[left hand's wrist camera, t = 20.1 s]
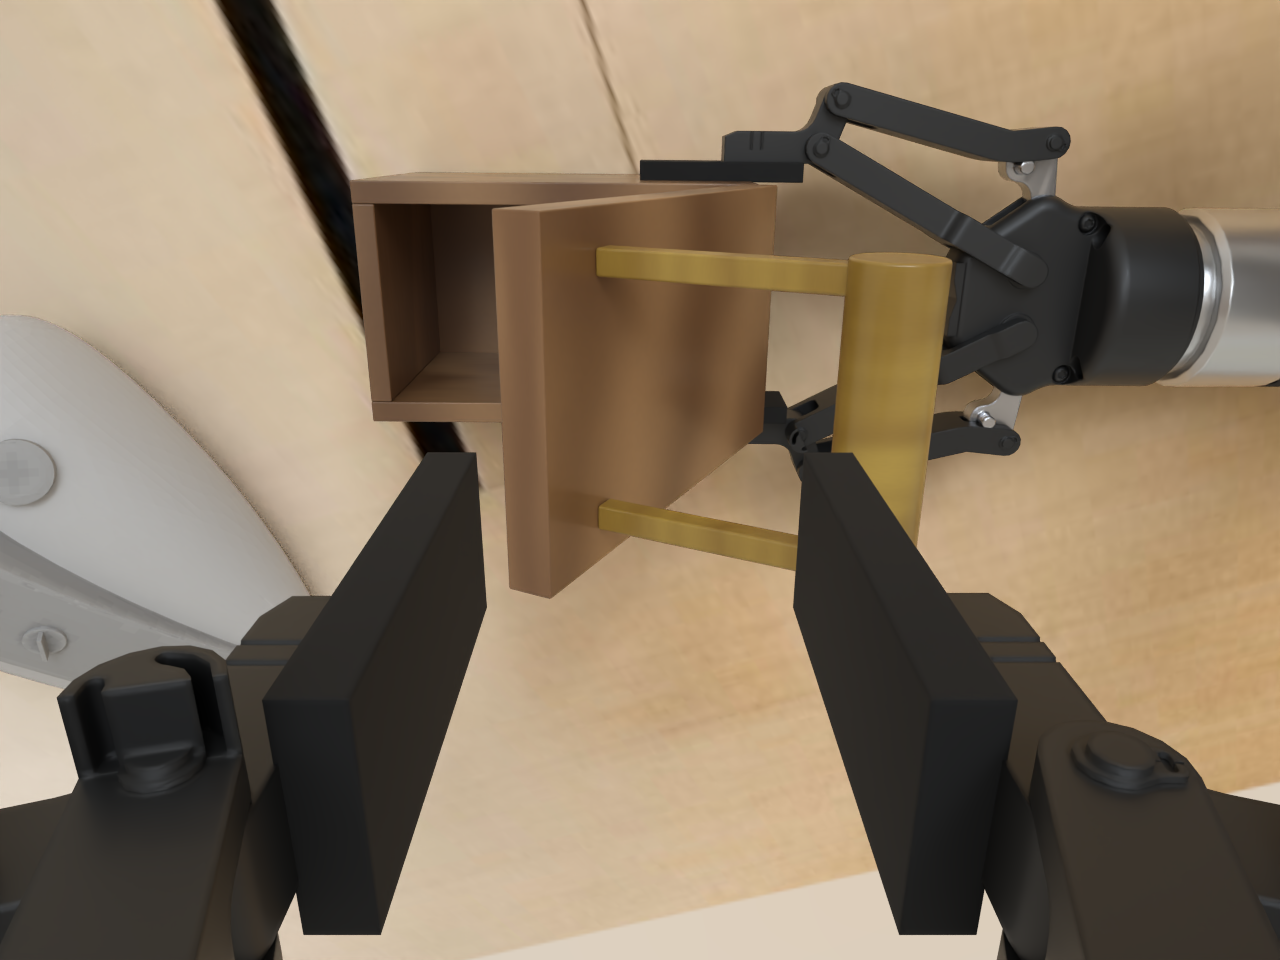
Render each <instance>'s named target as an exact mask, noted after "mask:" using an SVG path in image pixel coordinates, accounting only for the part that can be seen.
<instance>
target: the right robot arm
mask: <svg viewBox="0 0 1280 960" xmlns="http://www.w3.org/2000/svg"><path fill="white" fill-rule="evenodd" d="M846 123H849V124H853V125H856V126H860V127H863V128H867V129H870V130H874V131H877V132H881V133H884V134H888V135H891V136H894V137H898V138H901V139H905V140H908V141H912V142H915V143H919V144H922V145H926V146H929V147H933V148H936V149H940V150H943V151H947V152H950V153H954V154H957V155H961V156H964V157H968V158H972V159H976V160H982V161H995V162H998V172H999V174H1000V176H1001V177H1002V178H1003V179H1005V180H1007V181H1012V182H1015V183H1017V184H1018V185H1019V186H1020V187H1021V189H1022V195H1023V197H1021V198H1019V199H1018V200H1016V201H1015V202H1013V203H1012V204H1010V205H1009V206H1007V207H1006V208H1004V209H1003V210H1001V211H1000V212H999V213H997V214H996V215H994V216H993V217H991V218H990V219H988V220H987V221H985V222H984V223H982V224H981V223H980V222H978V221H976V220H975V219H973V218H971V217H969V216H967V215H965V214H963V213H961V212H959V211H957V210H955V209H954V208H952V207H950V206H949V205H947V204H945V203H944V202H942V201H940V200H939V199H937V198H935V197H934V196H932V195H930V194H929V193H927V192H925V191H924V190H922V189H920V188H919V187H917V186H915V185H914V184H912V183H910V182H909V181H907V180H905V179H904V178H902V177H901V176H899V175H897V174H896V173H894V172H892V171H891V170H889V169H887V168H886V167H884V166H882V165H881V164H879V163H877V162H876V161H874V160H872V159H871V158H869V157H867V156H866V155H864V154H862V153H861V152H859V151H857V150H856V149H854V148H852V147H851V146H849V145H847V144H846V143H844V142H842V141H841V140H839V138H840V136H841V133H842V131H843V129H844V126H845V124H846ZM1070 142H1071V140H1070V135H1069V133H1068V131H1067V130H1065V129H1064V128H1062V127H1036V128H1023V129H1013V130H1008V129H1005V128H1001V127H998V126H994V125H991V124H987V123H984V122H981V121H977V120H974V119H970V118H967V117H963V116H960V115H957V114H953V113H950V112H946V111H943V110H939V109H936V108H932V107H929V106H926V105H922V104H919V103H915V102H912V101H908V100H905V99H901V98H898V97H895V96H891V95H888V94H884V93H881V92H877V91H874V90H871V89H867V88H864V87H860V86H857V85H853V84H850V83H844V82H841V83H837V84H834V85H831V86H828V87H825V88H824V89H822V90H821V91H820V92H819V94H818V96H817V99H816V105H815V107H814V110H813V112H812V115H811V117H810V119H809V121H808V123H807V124H806V125H805V126H804V127H803V128H802V129H800V130H798V131H795V132H787V131H734V132H732V133H730V134H727V135H725V136H722V157H721V161H702V160H640V180H658V181H750V182H786V183H803V170H804V164H809V165H811V166H813V167H814V168H816V169H818V170H819V171H821V172H823V173H825V174H826V175H828V176H830V177H831V178H833V179H835V180H836V181H838V182H840V183H841V184H843V185H845V186H846V187H848V188H850V189H852V190H853V191H855V192H857V193H858V194H860V195H862V196H863V197H865V198H867V199H868V200H870V201H872V202H873V203H875V204H877V205H879V206H880V207H882V208H884V209H885V210H887V211H889V212H890V213H892V214H894V215H895V216H897V217H899V218H900V219H902V220H904V221H906V222H907V223H909V224H911V225H912V226H914V227H916V228H917V229H919V230H921V231H922V232H924V233H925V234H926V235H928V236H929V237H931V238H933V239H934V240H936V241H938V242H940V243H941V244H943V245H945V246H946V247H948V248H950V250H949V252H948V254H947V256H946V257H945V258H948V259H950V260H952V263H953V266H952V273H951V281H950V289H949V297H948V305H947V313H946V321H945V328H944V336H943V344H942V352H941V360H940V368H939V376H938V383H937V385H941V384H947V383H950V382H953V381H955V380H957V379H959V378H961V377H963V376H965V375H968V374H970V373H972V372H974V371H975V372H976V373H977V374H979V375H980V376H981V377H982V378H984V379H985V380H986V381H987V382H989V383H990V384H991V385H992V386H994V387H993V390H992V392H991V393H990V395H989V396H987V397H986V398H984V399H981V400H975V401H972V402H970V403H968V404H967V405H966V407H965V409H964V412H958V411H954V412H943V413H937V414H934V415H933V423H932V431H931V439H930V446H929V454H928V460H931V459H936V458H940V457H945V456H949V455H954V454H958V453H963V452H974V453H984V454H993V455H1002V456H1006V455H1011V454H1013V453H1014V452H1016V451H1017V450H1018V448H1019V446H1020V441H1021V439H1020V436H1019V435H1018V434H1017V433H1016V432H1015V431H1014V430H1013V428H1014V424H1015V421H1016V417H1017V413H1018V409H1019V406H1020V402H1021V398H1022V395H1026V394H1029V393H1031V392H1033V391H1035V390H1037V389H1039V388H1042V387H1045V386H1049V385H1094V386H1146V385H1149V384H1152V383H1154V382H1156V383H1158V384H1160V385H1162V386H1173V387H1190V386H1269V387H1270V386H1273V387H1279V386H1280V209H1252V208H1186V209H1182V210H1180V211H1178V212H1176V211H1174V210H1172V209H1169V208H1163V207H1078V206H1072V205H1070V204H1068V203H1066V202H1065V201H1063V200H1062V199H1060V198H1059V197H1056V196H1055V191H1056V175H1057V160H1058V158H1059V157H1061V156H1062V155H1064V154H1065V153H1066V152H1067V150H1068V149H1069V146H1070ZM836 393H837V384H836V385H834V386H832V387H830V388H828V389H826V390H824V391H822V392H820V393H818V394H816V395H814V396H812V397H810V398H807V399H805V400H803V401H801V402H799V403H797V404H795V405H793V406H791V407H789V408H787V406H786V404H785V402H784V400H783V398H782V396H781V394H780V392H779V391H765V403H764V420H763V432H762V433H761V434H759V435H758V436H757V437H755V438H754V439H753V440H752V441H750V442H749V443H748V444H779V445H782V446H784V447H786V448H787V449H788V450H789V453H790V456H791V460H792V462H793V465H794V467H795V469H796V472H797V474H798V476H799V478H800V480H801V481H802V472H803V458H804V453H831V450H832V439H833V437H830V438H826V439H823V438H825V437H827V436H829V435H831V434H833V427H834V416H835V404H836ZM820 439H821V440H820Z"/></svg>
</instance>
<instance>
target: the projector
mask: <svg viewBox="0 0 1280 960" xmlns="http://www.w3.org/2000/svg"><path fill="white" fill-rule="evenodd" d="M291 596H310V594H309V592H308V590H307V589H306V587H305V585H304V583H303V582H302V580H301V578H300V576H299V575H298V573H297V571H296V570H295V568H294V567H293V565H292V564H291V562H290V560H289V559H288V557H287V556H286V554H285V553H284V551H283V550H282V548H281V547H280V545H279V544H278V542H277V541H276V539H275V538H274V537H273V535H272V534H271V532H270V531H269V529H268V528H267V527H266V525H265V524H264V522H263V521H262V519H261V518H260V517H259V516H258V514H257V513H256V512H255V510H254V509H253V508H252V506H251V505H250V504H249V502H248V501H247V500H246V499H245V497H244V496H243V495H242V494H241V492H240V491H239V490H238V489H237V487H236V486H235V485H234V484H233V483H232V481H231V480H230V479H229V478H228V477H227V475H226V474H225V473H224V472H223V471H222V470H221V469H220V468H219V466H218V465H217V464H216V463H215V462H214V461H213V460H212V458H211V457H210V456H209V455H208V454H207V453H206V452H205V451H204V450H203V448H202V447H201V446H200V445H199V444H198V443H197V442H196V441H195V440H194V439H193V438H192V437H191V436H190V435H189V434H188V433H187V432H186V431H185V429H184V428H183V427H182V426H181V425H180V424H179V423H178V422H177V421H176V420H175V419H174V418H173V417H172V416H171V415H170V414H169V413H168V412H167V411H165V410H164V409H163V408H162V407H161V406H160V405H159V404H158V403H157V402H156V401H155V400H154V399H153V398H152V397H151V396H150V395H149V394H148V393H147V392H146V391H145V390H143V389H142V388H141V387H140V386H139V385H138V384H137V383H136V382H135V381H134V380H133V379H131V378H130V377H129V376H128V375H127V374H126V373H125V372H123V371H122V370H121V369H120V368H119V367H118V366H116V365H115V364H114V363H113V362H112V361H110V360H109V359H108V358H107V357H105V356H104V355H103V354H101V353H100V352H99V351H98V350H96V349H95V348H94V347H92V346H91V345H89V344H88V343H86V342H85V341H83V340H82V339H80V338H79V337H77V336H76V335H74V334H73V333H71V332H69V331H67V330H65V329H63V328H61V327H59V326H57V325H55V324H53V323H50V322H47V321H44V320H42V319H38V318H34V317H30V316H22V315H2V316H0V671H2V672H6V673H9V674H12V675H15V676H19V677H22V678H26V679H29V680H33V681H37V682H40V683H44V684H47V685H51V686H54V687H59V688H63V689H65V688H66V687H67V686H68V685H69V684H70V683H71V682H72V681H73V680H74V679H76V678H77V677H79V676H81V675H82V674H84V673H86V672H87V671H89V670H91V669H92V668H94V667H96V666H97V665H99V664H102V663H104V662H107V661H109V660H112V659H115V658H117V657H120V656H123V655H125V654H128V653H131V652H136V651H141V650H146V649H150V648H155V647H160V646H184V645H191V646H196V647H200V648H205V649H210V650H213V651H214V652H216V653H217V654H218V655H220V656H221V657H222V658H223V659H225V660H226V658H227V657H228V656H229V655H230V653H231V652H232V651H233V650H234V648H235V647H236V646H237V645H240V644H241V639H242V638H243V637H244V636H245V634H246V633H247V632H248V631H249V629H250V628H251V627H252V626H253V624H254V623H255V622H256V620H257V619H258V618H259V617H260V616H261V615H263V614H264V613H266V612H268V611H269V610H271V609H272V608H274V607H276V606H277V605H279V604H280V603H282V602H283V601H285V600H287V599H288V598H290V597H291Z"/></svg>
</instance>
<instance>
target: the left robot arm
mask: <svg viewBox="0 0 1280 960" xmlns="http://www.w3.org/2000/svg"><path fill="white" fill-rule="evenodd" d="M486 608H487V603H486V588H485V574H484V559H483V545H482V530H481V516H480V501H479V487H478V473H477V458H476V453H427V454H426V455H425V457H424V458H423V460H422V461H421V463H420V464H419V466H418V467H417V469H416V470H415V472H414V473H413V475H412V476H411V478H410V479H409V481H408V482H407V484H406V485H405V487H404V488H403V490H402V491H401V493H400V494H399V496H398V497H397V499H396V500H395V502H394V503H393V505H392V506H391V508H390V509H389V511H388V512H387V514H386V515H385V517H384V518H383V520H382V521H381V523H380V524H379V526H378V527H377V529H376V530H375V532H374V533H373V535H372V536H371V538H370V539H369V541H368V542H367V544H366V545H365V547H364V548H363V550H362V551H361V553H360V554H359V556H358V557H357V559H356V560H355V562H354V563H353V565H352V566H351V568H350V569H349V571H348V572H347V574H346V575H345V576H344V578H343V579H342V581H341V582H340V584H339V585H338V587H337V588H336V590H335V591H334V593H333V594H332V596H291V597H290V598H288V599H287V600H285V601H283V602H282V603H280V604H279V605H277V606H276V607H274V608H272V609H271V610H269V611H268V612H266V613H264V614H263V615H261V616H260V617H259V618H258V619H257V620H256V622H255V623H254V624H253V626H252V627H251V628H250V629H249V631H248V632H247V633H246V634H245V636H244V637H243V638H242V639H241V644H240V645H237V646H236V647H235V648H234V650H233V651H232V652H231V653H230V655H229V656H228V657H227V658H226V660H225V659H223V658H222V657H221V656H220V655H218V654H217V653H216V652H214V651H213V650H210V649H205V648H200V647H196V646H191V645H184V646H160V647H155V648H150V649H146V650H141V651H136V652H131V653H128V654H125V655H123V656H120V657H117V658H115V659H112V660H109V661H107V662H104V663H102V664H99V665H97V666H96V667H94V668H92V669H91V670H89V671H87V672H86V673H84V674H82V675H81V676H79V677H77V678H76V679H74V680H73V681H72V682H71V683H70V684H69V685H68V686H67V687H66V688H65V689H64V690H63V691H62V693H61V694H60V695H59V696H58V697H57V701H58V704H59V708H60V712H61V715H62V719H63V723H64V726H65V730H66V733H67V737H68V741H69V744H70V748H71V752H72V755H73V759H74V763H75V766H76V770H77V774H78V777H79V779H78V781H77V783H76V786H75V788H74V790H73V792H72V793H71V794H67V795H63V796H60V797H56V798H52V799H47V800H42V801H37V802H32V803H27V804H22V805H17V806H13V807H8V808H3V809H0V960H283V959H282V951H281V946H280V941H279V936H278V931H279V928H280V926H281V924H282V922H283V920H284V917H285V915H286V913H287V911H288V909H289V906H290V904H291V902H292V900H293V898H294V895H295V893H296V895H297V901H298V906H299V912H300V917H301V923H302V929H303V934H304V935H381V932H382V929H383V926H384V923H385V920H386V917H387V914H388V911H389V908H390V905H391V901H392V898H393V895H394V892H395V889H396V886H397V883H398V880H399V877H400V874H401V871H402V868H403V864H404V861H405V858H406V855H407V852H408V849H409V846H410V843H411V840H412V837H413V834H414V830H415V827H416V824H417V821H418V818H419V815H420V812H421V809H422V806H423V803H424V800H425V797H426V793H427V790H428V787H429V784H430V781H431V778H432V775H433V772H434V769H435V766H436V763H437V760H438V756H439V753H440V750H441V747H442V744H443V741H444V738H445V735H446V732H447V729H448V726H449V722H450V719H451V716H452V713H453V710H454V707H455V704H456V701H457V698H458V695H459V692H460V689H461V685H462V682H463V679H464V676H465V673H466V670H467V667H468V664H469V661H470V658H471V655H472V652H473V648H474V645H475V642H476V639H477V636H478V633H479V630H480V627H481V624H482V621H483V618H484V614H485V611H486ZM793 608H794V611H795V614H796V618H797V621H798V624H799V627H800V630H801V633H802V636H803V639H804V642H805V645H806V648H807V652H808V655H809V658H810V661H811V664H812V667H813V670H814V673H815V676H816V679H817V682H818V685H819V689H820V692H821V695H822V698H823V701H824V704H825V707H826V710H827V713H828V716H829V719H830V722H831V726H832V729H833V732H834V735H835V738H836V741H837V744H838V747H839V750H840V753H841V756H842V760H843V763H844V766H845V769H846V772H847V775H848V778H849V781H850V784H851V787H852V790H853V793H854V797H855V800H856V803H857V806H858V809H859V812H860V815H861V818H862V821H863V824H864V827H865V831H866V834H867V837H868V840H869V843H870V846H871V849H872V852H873V855H874V858H875V861H876V864H877V868H878V871H879V874H880V877H881V880H882V883H883V886H884V889H885V892H886V895H887V898H888V901H889V905H890V907H891V911H892V914H893V917H894V920H895V923H896V926H897V929H898V932H899V935H976V934H977V929H978V923H979V917H980V912H981V906H982V901H983V895H984V889H985V891H986V893H987V895H988V897H989V899H990V902H991V904H992V906H993V908H994V910H995V913H996V915H997V917H998V919H999V921H1000V924H1001V926H1002V928H1003V930H1002V936H1001V941H1000V946H999V951H998V956H997V960H1280V805H1278V804H1273V803H1268V802H1263V801H1258V800H1253V799H1248V798H1243V797H1238V796H1233V795H1229V794H1224V793H1221V792H1217V791H1213V790H1209V789H1207V788H1206V786H1205V784H1204V782H1203V780H1202V778H1201V776H1200V775H1199V774H1198V772H1197V771H1196V770H1195V769H1194V767H1193V766H1192V765H1191V763H1190V762H1189V761H1188V760H1187V758H1185V757H1184V756H1183V755H1181V754H1180V753H1178V752H1177V751H1176V750H1174V749H1173V748H1171V747H1170V746H1168V745H1167V744H1166V743H1164V742H1163V741H1161V740H1159V739H1156V738H1154V737H1152V736H1150V735H1147V734H1145V733H1143V732H1141V731H1138V730H1136V729H1134V728H1130V727H1126V726H1122V725H1118V724H1114V723H1110V722H1107V721H1106V720H1105V719H1104V717H1103V716H1102V715H1101V714H1100V712H1099V711H1098V710H1097V709H1096V707H1095V706H1094V705H1093V703H1092V702H1091V701H1090V700H1089V698H1088V697H1087V696H1086V695H1085V693H1084V692H1083V691H1082V690H1081V688H1080V687H1079V686H1078V685H1077V683H1076V682H1075V681H1074V680H1073V678H1072V677H1071V676H1070V675H1069V673H1068V672H1067V671H1066V670H1065V668H1064V667H1063V666H1062V665H1061V663H1060V662H1056V657H1055V656H1054V654H1053V653H1052V652H1051V651H1050V649H1049V648H1048V647H1047V646H1046V644H1045V643H1044V642H1040V637H1039V636H1038V634H1037V633H1036V632H1035V631H1034V629H1033V628H1032V627H1031V626H1030V624H1029V623H1028V622H1027V621H1026V619H1025V618H1024V617H1023V615H1022V614H1021V613H1019V612H1018V611H1016V610H1015V609H1013V608H1011V607H1010V606H1008V605H1007V604H1005V603H1003V602H1002V601H1000V600H999V599H997V598H995V597H994V596H992V595H990V594H989V593H946V591H945V590H944V588H943V587H942V585H941V584H940V582H939V581H938V579H937V578H936V577H935V575H934V574H933V572H932V571H931V569H930V568H929V566H928V565H927V563H926V562H925V560H924V559H923V557H922V556H921V554H920V553H919V551H918V550H917V548H916V547H915V545H914V544H913V542H912V541H911V539H910V538H909V536H908V535H907V533H906V532H905V530H904V529H903V527H902V526H901V524H900V523H899V521H898V520H897V518H896V517H895V515H894V514H893V512H892V511H891V509H890V508H889V506H888V505H887V503H886V502H885V500H884V499H883V497H882V496H881V494H880V493H879V491H878V490H877V488H876V487H875V485H874V484H873V482H872V481H871V479H870V478H869V476H868V475H867V473H866V472H865V470H864V469H863V467H862V466H861V464H860V463H859V461H858V460H857V458H856V457H855V455H854V454H853V453H804V458H803V472H802V487H801V501H800V516H799V530H798V545H797V559H796V574H795V588H794V603H793Z"/></svg>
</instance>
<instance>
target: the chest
mask: <svg viewBox="0 0 1280 960" xmlns="http://www.w3.org/2000/svg"><path fill="white" fill-rule="evenodd" d="M745 184H748V185H758V184H756V183H753V182H750V181H658V180H640V174H540V173H429V172H415V173H406V174H398V175H390V176H382V177H374V178H366V179H358V180H351V181H350V188H351V198H352V203H353V205H352V207H353V217H354V227H355V237H356V247H357V257H358V267H359V277H360V287H361V298H362V308H363V318H364V328H365V338H366V348H367V358H368V368H369V378H370V389H371V399H372V410H373V420H374V421H416V422H502V417H501V396H500V374H499V353H498V332H497V311H496V290H495V268H494V247H493V226H492V209H494V208H504V207H515V206H525V205H536V204H546V203H557V202H567V201H578V200H588V199H599V198H609V197H620V196H630V195H640V194H651V193H661V192H672V191H682V190H693V189H703V188H714V187H724V186H735V185H745Z"/></svg>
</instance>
